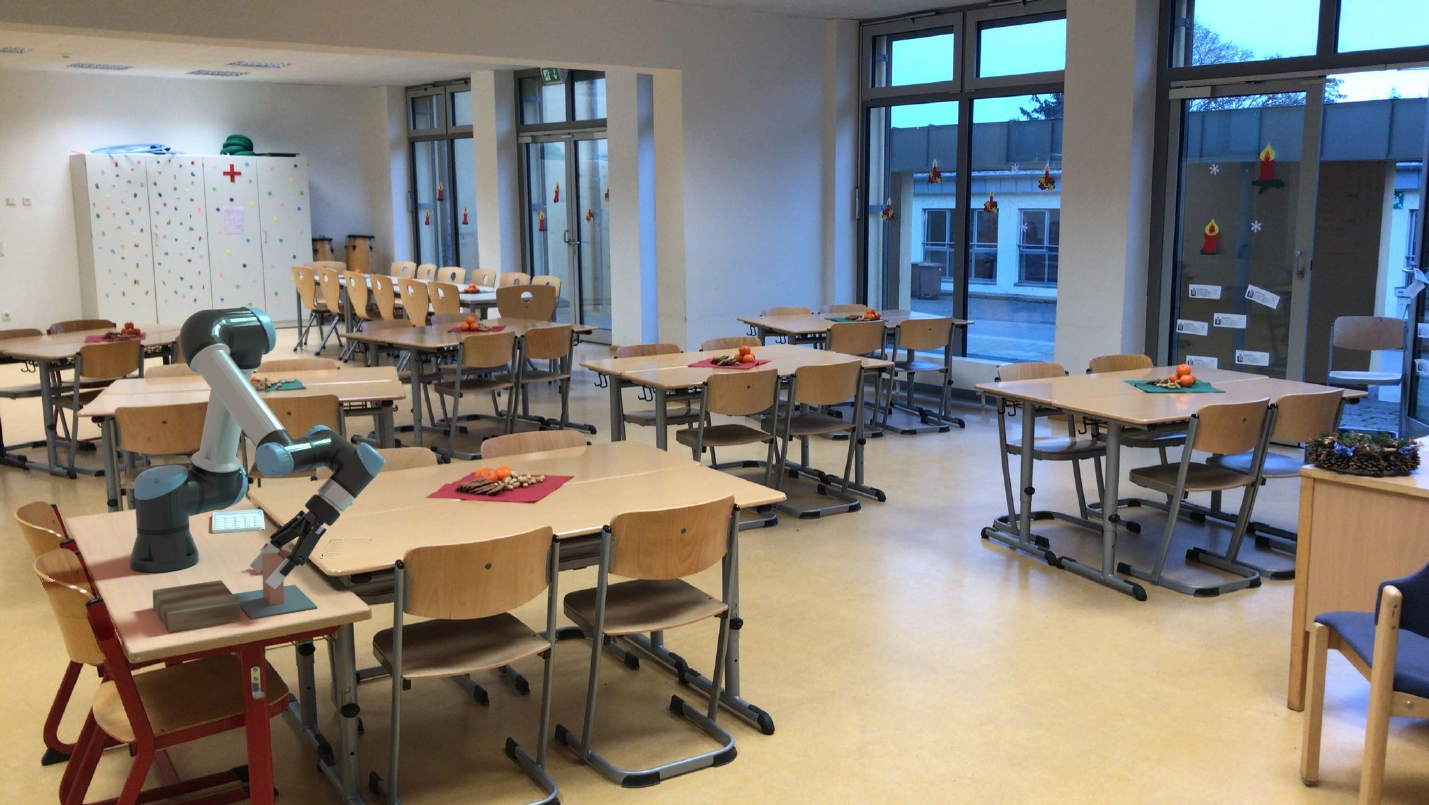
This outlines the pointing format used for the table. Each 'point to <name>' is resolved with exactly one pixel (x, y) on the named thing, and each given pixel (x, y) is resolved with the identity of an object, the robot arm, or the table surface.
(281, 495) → the table surface
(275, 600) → the salmon pink brick
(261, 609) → the mat
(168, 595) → the brown flat block
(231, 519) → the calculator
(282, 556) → the geometric puzzle
